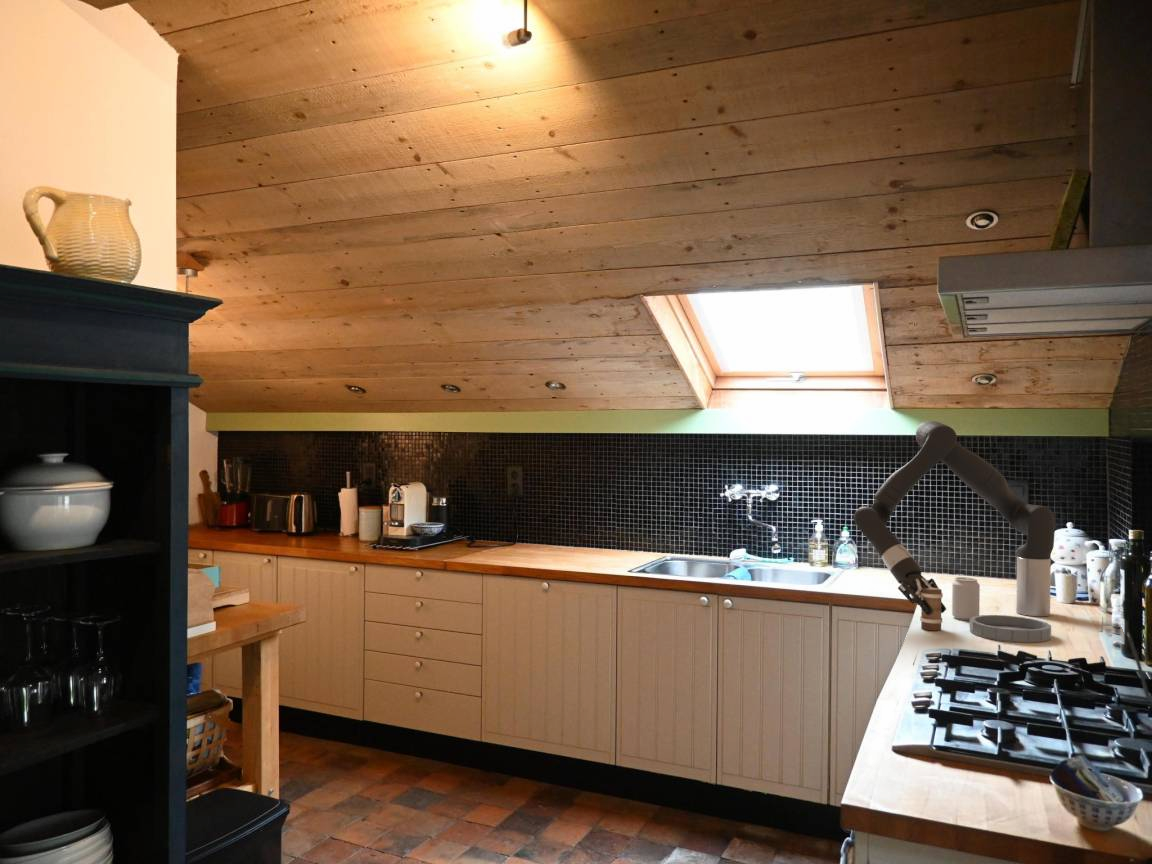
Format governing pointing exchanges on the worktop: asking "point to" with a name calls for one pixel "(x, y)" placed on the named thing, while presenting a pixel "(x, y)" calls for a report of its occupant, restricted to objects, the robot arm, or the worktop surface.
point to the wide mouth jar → (965, 598)
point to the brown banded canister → (934, 601)
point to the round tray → (1010, 628)
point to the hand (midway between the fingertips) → (937, 612)
